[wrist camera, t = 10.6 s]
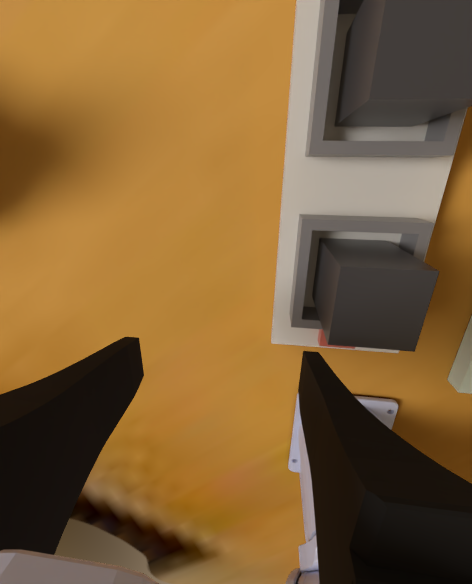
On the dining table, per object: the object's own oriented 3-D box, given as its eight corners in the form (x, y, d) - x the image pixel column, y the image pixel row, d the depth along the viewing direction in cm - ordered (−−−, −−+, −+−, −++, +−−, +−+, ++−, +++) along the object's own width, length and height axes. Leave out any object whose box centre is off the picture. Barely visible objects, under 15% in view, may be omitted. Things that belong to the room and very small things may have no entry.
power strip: (391, 344, 21) (445, 420, 15) (271, 335, 22) (271, 402, 16) (502, -71, 13) (750, -334, 6) (300, -57, 14) (326, -273, 7)
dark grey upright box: (411, 126, 15) (493, 98, 9) (334, 126, 15) (368, 99, 10) (433, 29, 13) (545, -71, 8) (346, 32, 14) (395, -62, 8)
